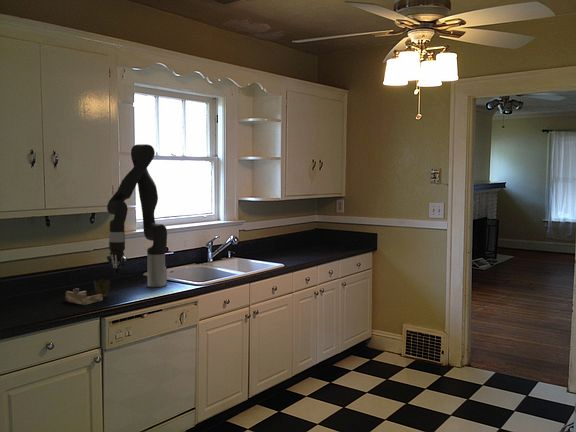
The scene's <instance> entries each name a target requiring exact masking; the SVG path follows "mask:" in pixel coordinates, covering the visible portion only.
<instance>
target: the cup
mask: <svg viewBox="0 0 576 432" xmlns="http://www.w3.org/2000/svg"><path fill="white" fill-rule="evenodd" d="M110 284H111V280H110V279H107V280H106V279H103V278H102V279H98V281H97V280H94V281H93V285H94V291H95V293H97V294H96V295H98V294H103V298H106V296H107V293H108V292H109V290H110Z"/></svg>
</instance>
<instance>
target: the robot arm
mask: <svg viewBox="0 0 576 432" xmlns="http://www.w3.org/2000/svg"><path fill="white" fill-rule="evenodd" d="M155 154H156V153H155V149H154V147H153V146H152V145H150V144H142V143H139V144H135V145H133V146H132V147H131V150H130V157H131V162H132V164H133V167H132V169H131V170H130V171H128V173H127V174H126V175H125V176H124V177H123V178H122V179H121V182H120V184H119V185H118V186H119V187H118V189H117V190H116V191H115V193H114V194H113V195H112V197H111V198H110V199H109V200H108V202H107V206H106V209H107V212H108V213H109V214H111V215H114V216H113V219H111V220H110V221H109V234H108V250H109V251H110V252H109V255H107V256H106V260H107V262H109V265H110V267H112V268H113V276H115V277H118V276H120V275H121V268H123V267H124V266H125V264H126V262H127V261H128V257H126V256H125V253H124V252H125V250H126V233H125V223H126V219H127V215H128V208H129V207H128V205H127V203H126V202H125V201H126V200H128V199H130V198H131V196H132V194H133V192H134V190H135V188H136V186H137V187H138V188H137V189H138V194H139V200H140V201H139V202H140V206H141V214H142V228H143V235H144V237H145V239H146V240H148V241H152V245H151V246H150V247H148V248H147V249H146V252H147V257H146V258H147V259H146V260H147V271H146V272H147V287H149V288H161V287H165V286H166V285H167V282H168V281H167V277H168V276H167V273H168V269H167V267H166V249H167V243H168V231H167V230H168V229H167V226H165V225H164V224H162V223H156V220H155V211H156V207H157V205H158V201H159V195H158V189H157V185H156V183H155V181H154V180H153V178H152V176H151V174H150V172H149V170H148V167H149V166H150V164H151V163H152V161H153V159H154V158H155Z"/></svg>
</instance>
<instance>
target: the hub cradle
mask: <svg viewBox="0 0 576 432" xmlns="http://www.w3.org/2000/svg"><path fill="white" fill-rule="evenodd" d="M87 292H88V291H87V290H83V291H80V288H78V287H76V288H75V287H74V288H73V289H72V291H69V290H66V291H65V302H68V303H74V304H78V305H82V306H86V305H91V304H93V303H97V302H98V303H99V302H102V301H103V299H104V297H103V294H93V295H89V296H87V295H88V293H87Z"/></svg>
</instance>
